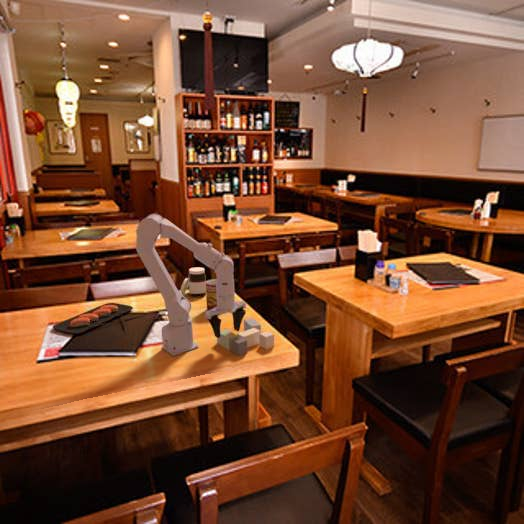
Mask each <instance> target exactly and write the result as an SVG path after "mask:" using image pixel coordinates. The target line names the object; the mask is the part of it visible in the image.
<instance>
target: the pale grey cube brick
mask: <svg viewBox="0 0 524 524" xmlns="http://www.w3.org/2000/svg"><path fill="white" fill-rule="evenodd" d="M259 339H260V343H259V347H261V348H262V349H265V350H269V349H271V348H274V347H275V334H274V333H272V332H271V331H268V330H266V331H263V332H261V333H260V334H259Z"/></svg>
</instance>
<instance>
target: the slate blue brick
mask: <svg viewBox="0 0 524 524" xmlns="http://www.w3.org/2000/svg"><path fill="white" fill-rule="evenodd" d="M252 328H255V329H257V330H259V331H260V333H262V330H261V329H262V325H261V323H259V322H258V321H257V320H256V319H255V318H254V317H249V318H245V319H244V318H243V331H246V330H249V329H252Z"/></svg>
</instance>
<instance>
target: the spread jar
mask: <svg viewBox="0 0 524 524" xmlns="http://www.w3.org/2000/svg"><path fill="white" fill-rule="evenodd" d="M206 281H207V277H206V274H205V268H204V267H199V266H197V267H191V268H189V269H188V277H185V279H184V280H183V281H182V284H181V286H180V292H181V293H182V294H185V293H186V291H187V289H188V293H189V295H190V296H191V297H196V298H197V297H203V296H205V295H206Z"/></svg>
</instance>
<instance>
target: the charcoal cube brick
mask: <svg viewBox="0 0 524 524" xmlns="http://www.w3.org/2000/svg"><path fill="white" fill-rule="evenodd" d="M232 354H234V355H236V356H238V357H241V356H243V355H246V354H248V348H247V340H245V339H244V338H242V337H239V338H236V339H233V340H232Z"/></svg>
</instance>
